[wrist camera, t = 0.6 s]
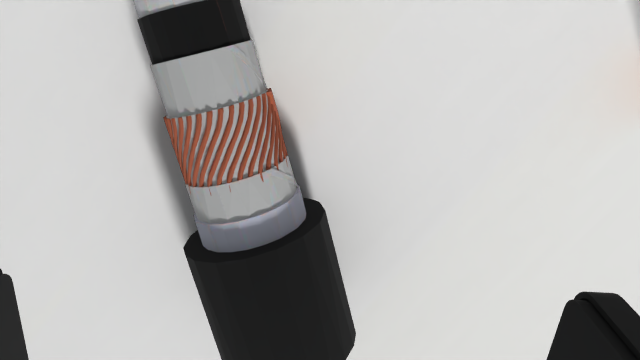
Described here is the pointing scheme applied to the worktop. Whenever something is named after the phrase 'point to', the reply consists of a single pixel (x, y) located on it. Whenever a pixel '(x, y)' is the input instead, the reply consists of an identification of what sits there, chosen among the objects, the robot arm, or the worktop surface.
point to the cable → (243, 192)
